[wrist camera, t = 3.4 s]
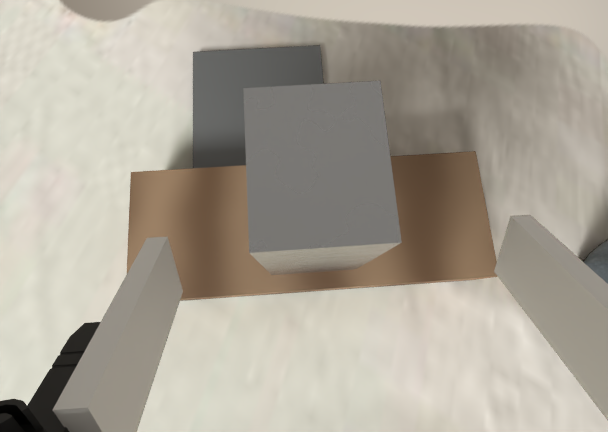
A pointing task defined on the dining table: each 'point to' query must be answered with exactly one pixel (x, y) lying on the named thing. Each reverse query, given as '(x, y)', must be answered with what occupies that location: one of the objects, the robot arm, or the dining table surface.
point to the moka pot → (599, 261)
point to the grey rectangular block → (318, 177)
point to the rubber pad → (240, 94)
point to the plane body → (258, 281)
